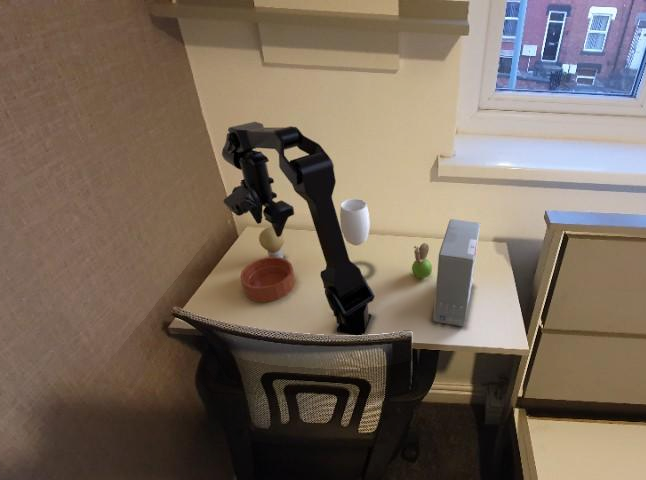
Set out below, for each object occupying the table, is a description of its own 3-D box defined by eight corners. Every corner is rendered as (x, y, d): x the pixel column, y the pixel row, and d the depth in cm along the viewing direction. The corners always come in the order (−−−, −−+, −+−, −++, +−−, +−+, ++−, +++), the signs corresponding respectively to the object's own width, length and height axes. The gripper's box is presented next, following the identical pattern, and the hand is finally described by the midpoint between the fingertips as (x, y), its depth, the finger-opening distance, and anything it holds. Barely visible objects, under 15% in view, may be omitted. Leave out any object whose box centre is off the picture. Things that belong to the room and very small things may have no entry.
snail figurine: (406, 280, 106) (406, 243, 99) (417, 267, 110) (418, 231, 103) (423, 287, 104) (425, 250, 97) (435, 273, 108) (437, 237, 102)
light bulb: (279, 268, 108) (272, 238, 102) (259, 263, 109) (251, 233, 103) (293, 255, 113) (287, 225, 107) (274, 250, 114) (267, 220, 108)
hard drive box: (464, 328, 93) (473, 261, 81) (432, 322, 94) (436, 255, 82) (472, 285, 105) (480, 222, 94) (444, 280, 106) (449, 217, 95)
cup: (340, 275, 106) (333, 209, 94) (353, 260, 112) (347, 195, 100) (365, 281, 104) (360, 214, 93) (376, 265, 110) (373, 200, 98)
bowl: (303, 275, 106) (300, 260, 103) (281, 306, 96) (278, 291, 93) (260, 268, 107) (256, 254, 104) (235, 299, 97) (230, 284, 94)
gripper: (204, 174, 95) (221, 228, 104) (245, 200, 86) (260, 257, 95) (247, 160, 102) (260, 212, 111) (290, 183, 93) (300, 238, 102)
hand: (268, 229), depth 105 cm, fingers open, 9 cm apart
